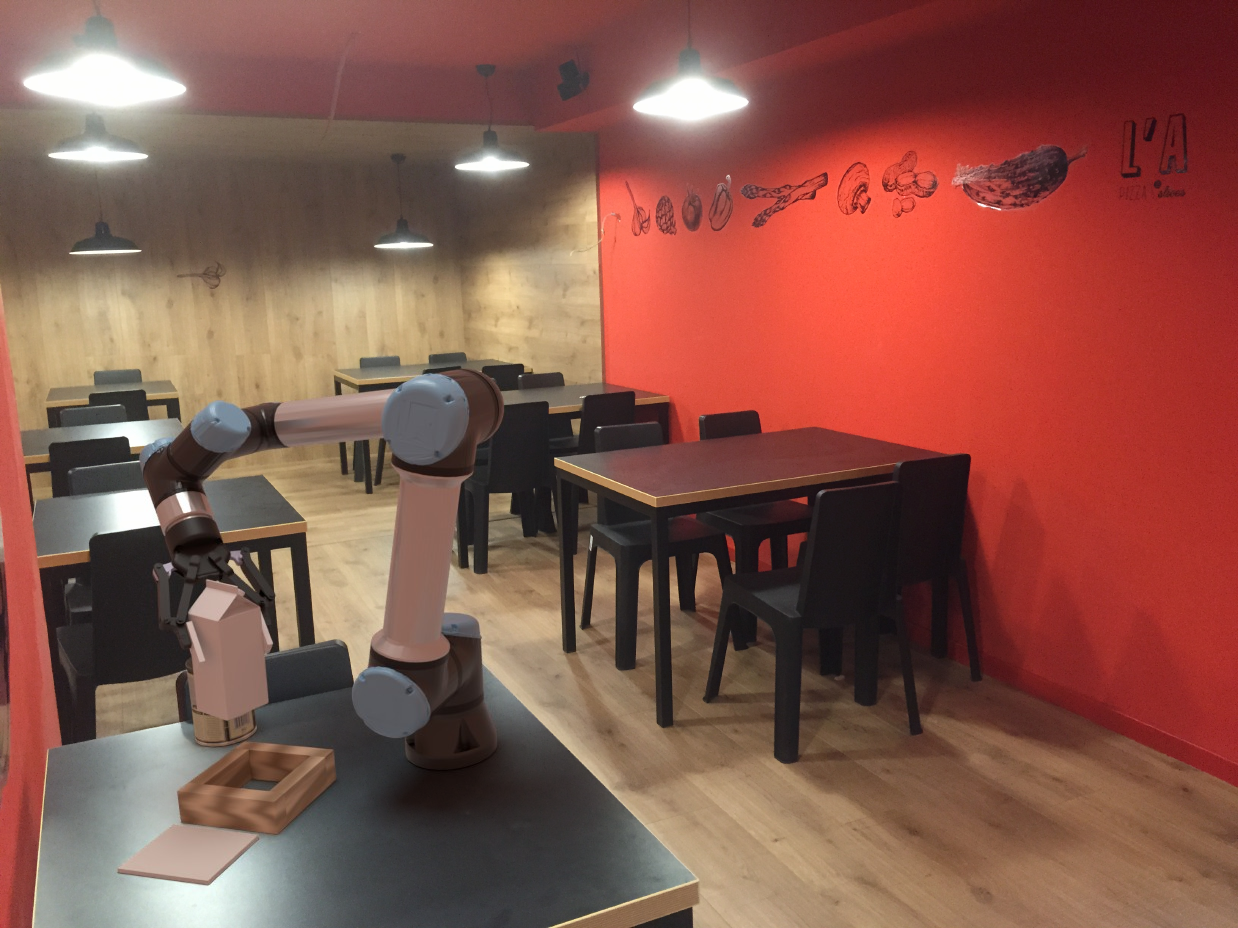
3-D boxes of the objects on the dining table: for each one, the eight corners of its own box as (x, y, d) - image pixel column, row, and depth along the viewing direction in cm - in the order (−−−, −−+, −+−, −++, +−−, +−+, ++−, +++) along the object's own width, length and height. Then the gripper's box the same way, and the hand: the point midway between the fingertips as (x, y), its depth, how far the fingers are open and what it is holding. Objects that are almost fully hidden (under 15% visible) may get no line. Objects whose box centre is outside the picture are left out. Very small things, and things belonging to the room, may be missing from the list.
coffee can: (212, 720, 176) (204, 646, 173) (267, 721, 174) (259, 647, 172) (182, 746, 165) (173, 668, 163) (239, 747, 164) (231, 669, 162)
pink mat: (258, 838, 136) (258, 834, 136) (208, 884, 126) (207, 880, 126) (173, 827, 140) (173, 824, 140) (117, 872, 129) (117, 868, 129)
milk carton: (227, 722, 137) (215, 593, 134) (196, 711, 141) (184, 585, 138) (269, 703, 143) (258, 580, 140) (238, 693, 147) (227, 573, 143)
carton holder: (336, 778, 153) (333, 749, 152) (277, 834, 137) (274, 801, 136) (247, 769, 157) (244, 740, 156) (180, 822, 141) (177, 790, 140)
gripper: (256, 529, 156) (303, 650, 147) (110, 555, 143) (151, 690, 134) (265, 503, 151) (314, 626, 142) (114, 527, 138) (158, 665, 129)
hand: (235, 657), depth 138 cm, fingers closed on milk carton, 9 cm apart
